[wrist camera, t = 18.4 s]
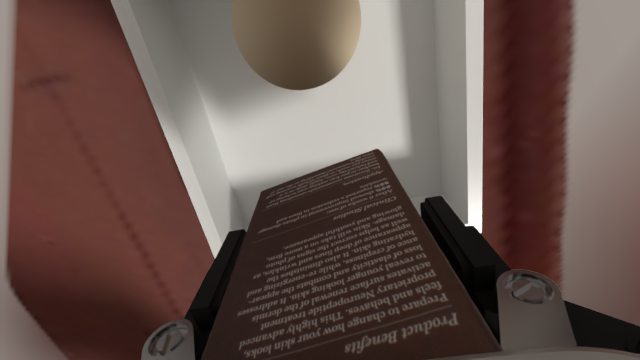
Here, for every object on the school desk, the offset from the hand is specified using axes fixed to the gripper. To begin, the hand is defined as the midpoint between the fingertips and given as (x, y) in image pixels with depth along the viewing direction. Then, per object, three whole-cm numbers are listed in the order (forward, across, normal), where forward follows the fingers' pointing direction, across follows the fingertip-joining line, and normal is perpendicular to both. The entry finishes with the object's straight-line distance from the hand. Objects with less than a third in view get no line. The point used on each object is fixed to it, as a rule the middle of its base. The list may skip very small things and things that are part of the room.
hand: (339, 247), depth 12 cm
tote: (+11, 0, -4) cm, 12 cm away
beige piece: (+11, 0, -8) cm, 13 cm away
